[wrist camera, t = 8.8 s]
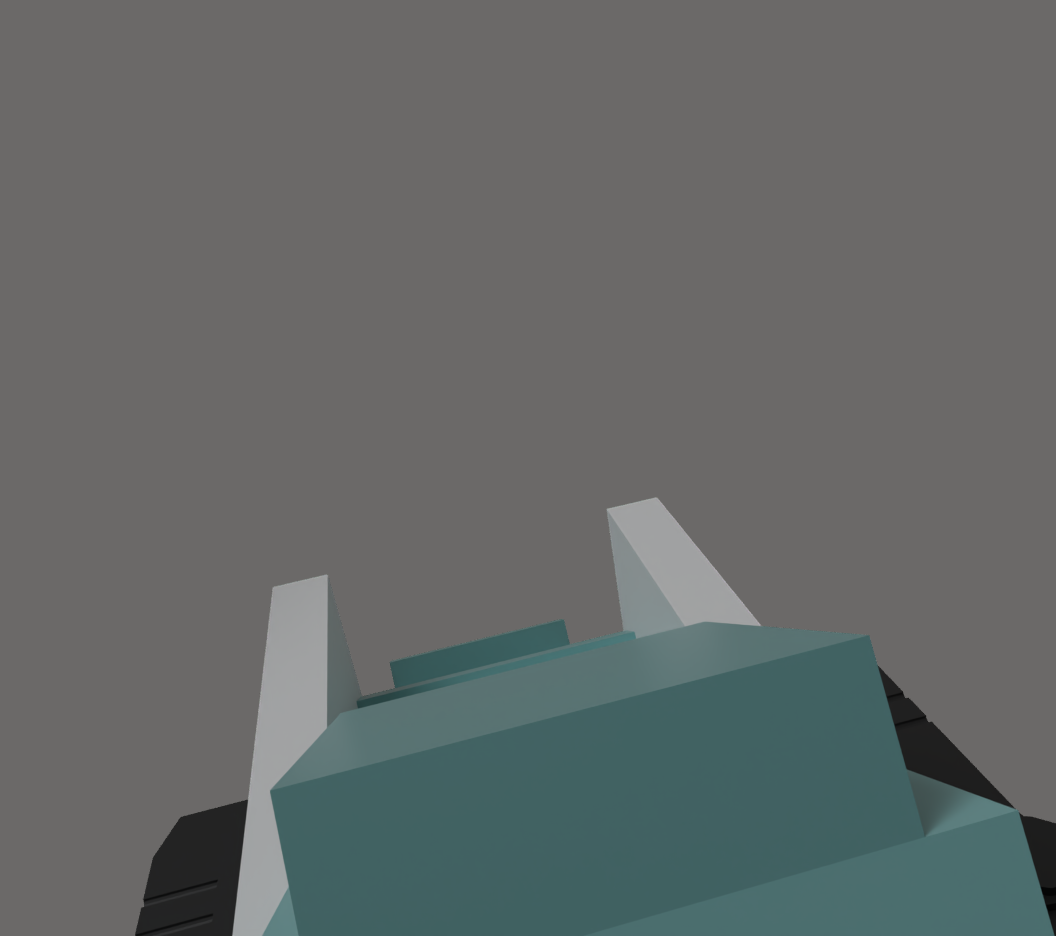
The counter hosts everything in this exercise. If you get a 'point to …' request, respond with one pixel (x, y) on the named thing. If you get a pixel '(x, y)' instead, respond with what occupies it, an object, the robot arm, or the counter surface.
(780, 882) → the teal notched bar
